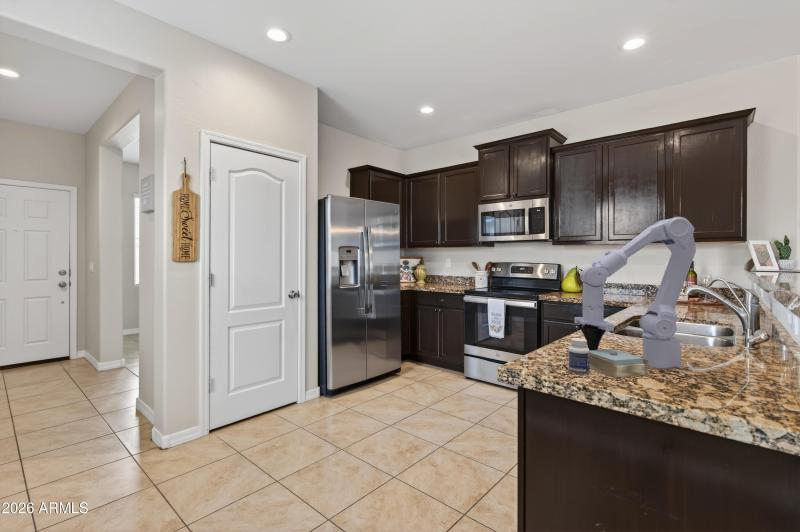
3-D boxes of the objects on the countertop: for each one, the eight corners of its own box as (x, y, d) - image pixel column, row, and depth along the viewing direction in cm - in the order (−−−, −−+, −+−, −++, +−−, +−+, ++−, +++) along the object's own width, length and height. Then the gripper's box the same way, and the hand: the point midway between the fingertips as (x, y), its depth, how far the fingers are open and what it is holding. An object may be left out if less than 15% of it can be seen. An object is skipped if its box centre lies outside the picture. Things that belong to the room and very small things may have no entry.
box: (613, 365, 116) (613, 349, 116) (648, 377, 104) (648, 359, 104) (581, 367, 113) (581, 351, 113) (613, 380, 101) (613, 362, 101)
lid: (612, 354, 115) (612, 347, 115) (643, 363, 104) (643, 356, 104) (585, 355, 113) (585, 348, 113) (614, 366, 102) (614, 358, 102)
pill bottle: (592, 377, 104) (592, 341, 104) (570, 376, 105) (571, 341, 105) (586, 371, 109) (586, 337, 109) (566, 370, 110) (566, 337, 110)
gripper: (566, 303, 122) (566, 346, 123) (598, 309, 108) (598, 357, 109) (585, 303, 124) (585, 344, 124) (620, 308, 110) (619, 355, 110)
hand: (592, 350), depth 116 cm, fingers closed
